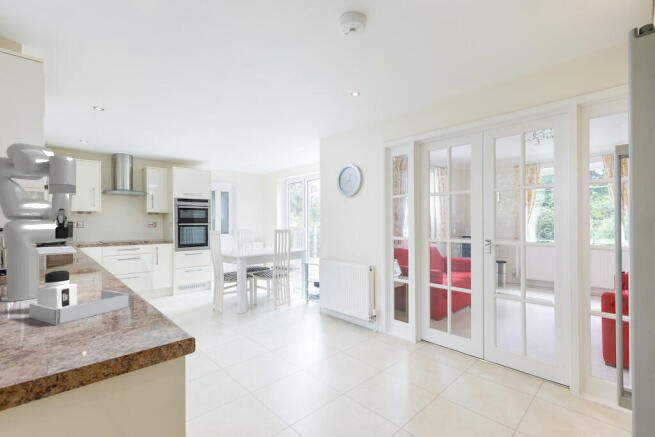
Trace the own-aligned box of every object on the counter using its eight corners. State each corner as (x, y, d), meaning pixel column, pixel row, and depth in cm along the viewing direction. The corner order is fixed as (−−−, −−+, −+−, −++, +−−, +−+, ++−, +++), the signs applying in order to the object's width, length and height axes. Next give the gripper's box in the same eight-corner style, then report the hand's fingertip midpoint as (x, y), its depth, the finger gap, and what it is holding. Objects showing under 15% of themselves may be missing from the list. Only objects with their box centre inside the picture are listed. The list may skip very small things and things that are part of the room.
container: (77, 304, 113) (76, 269, 113) (57, 310, 105) (56, 272, 105) (58, 305, 114) (57, 269, 114) (36, 311, 106) (35, 273, 106)
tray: (29, 317, 99) (29, 303, 99) (104, 301, 119) (104, 289, 119) (56, 325, 91) (56, 310, 91) (131, 306, 111) (131, 294, 111)
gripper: (50, 191, 116) (50, 236, 116) (46, 188, 102) (45, 239, 102) (76, 192, 120) (75, 236, 121) (75, 189, 107) (74, 239, 107)
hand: (62, 237), depth 111 cm, fingers open, 9 cm apart
